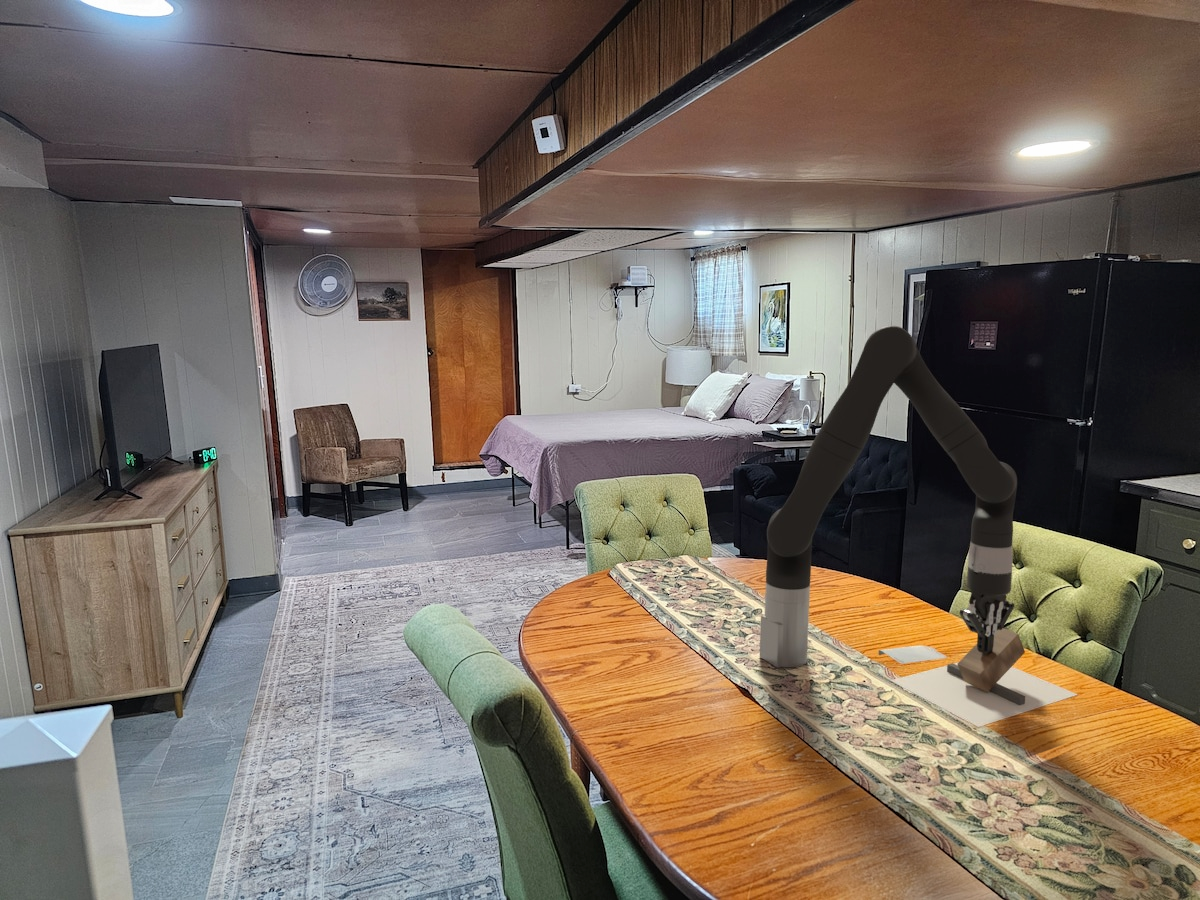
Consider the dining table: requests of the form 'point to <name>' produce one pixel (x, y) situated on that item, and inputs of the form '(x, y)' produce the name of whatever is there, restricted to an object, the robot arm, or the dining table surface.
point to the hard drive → (912, 654)
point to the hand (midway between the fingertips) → (984, 652)
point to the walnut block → (991, 660)
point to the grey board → (983, 693)
